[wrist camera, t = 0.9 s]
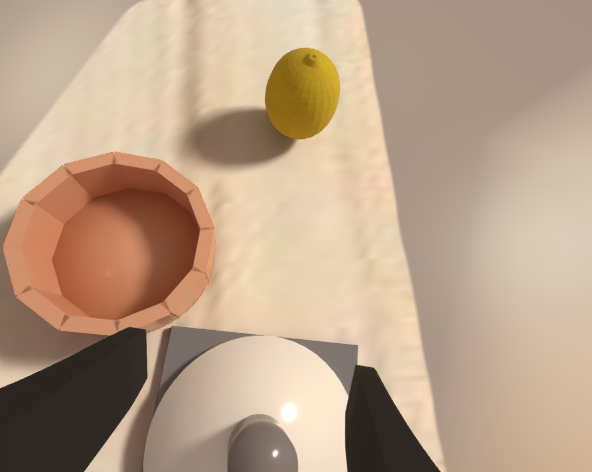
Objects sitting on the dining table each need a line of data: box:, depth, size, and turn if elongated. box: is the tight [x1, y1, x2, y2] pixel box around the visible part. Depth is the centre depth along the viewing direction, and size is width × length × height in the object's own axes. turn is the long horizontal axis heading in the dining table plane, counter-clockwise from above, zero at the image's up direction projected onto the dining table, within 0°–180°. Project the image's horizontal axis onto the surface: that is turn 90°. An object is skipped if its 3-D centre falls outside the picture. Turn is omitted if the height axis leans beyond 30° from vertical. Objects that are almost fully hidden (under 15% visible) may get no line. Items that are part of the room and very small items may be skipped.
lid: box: [143, 336, 348, 472], centre depth 19 cm, size 13×13×4 cm
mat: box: [142, 326, 358, 472], centre depth 21 cm, size 13×13×1 cm
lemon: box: [265, 48, 340, 139], centre depth 25 cm, size 6×6×8 cm
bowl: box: [3, 152, 216, 336], centre depth 21 cm, size 11×11×4 cm
